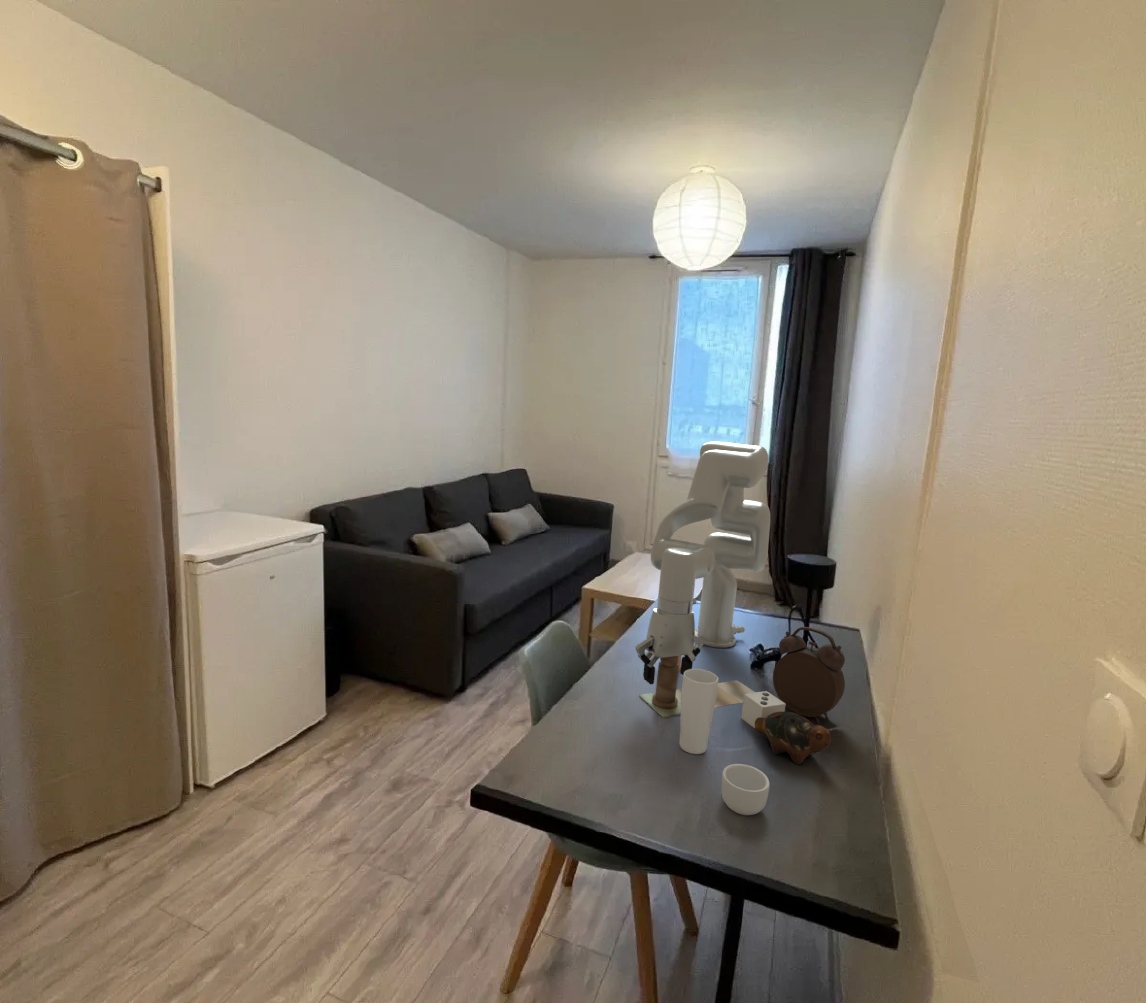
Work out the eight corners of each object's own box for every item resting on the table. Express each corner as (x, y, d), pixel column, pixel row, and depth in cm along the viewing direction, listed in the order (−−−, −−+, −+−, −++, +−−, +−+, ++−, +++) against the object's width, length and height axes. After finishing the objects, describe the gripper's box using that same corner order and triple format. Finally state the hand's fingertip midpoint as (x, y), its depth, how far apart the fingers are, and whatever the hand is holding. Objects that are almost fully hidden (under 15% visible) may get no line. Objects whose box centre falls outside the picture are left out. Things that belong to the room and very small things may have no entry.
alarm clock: (842, 722, 137) (855, 635, 134) (830, 733, 132) (843, 643, 129) (779, 697, 147) (790, 616, 144) (765, 707, 141) (776, 622, 138)
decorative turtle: (821, 779, 114) (823, 738, 113) (743, 750, 124) (744, 713, 123) (838, 756, 122) (840, 718, 120) (764, 731, 131) (765, 695, 130)
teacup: (766, 827, 100) (770, 796, 99) (717, 815, 102) (721, 785, 101) (764, 791, 109) (768, 763, 108) (720, 781, 111) (723, 753, 110)
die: (763, 716, 137) (766, 690, 136) (782, 730, 131) (785, 703, 130) (741, 720, 134) (744, 693, 133) (759, 734, 129) (762, 706, 128)
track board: (736, 681, 153) (737, 680, 153) (764, 700, 145) (765, 698, 144) (639, 696, 142) (639, 694, 141) (663, 717, 133) (663, 716, 133)
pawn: (668, 695, 142) (673, 643, 140) (682, 707, 137) (688, 653, 135) (647, 698, 140) (652, 646, 138) (660, 710, 135) (666, 656, 133)
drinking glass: (689, 760, 117) (698, 685, 115) (668, 742, 123) (676, 670, 121) (717, 753, 120) (726, 680, 118) (695, 736, 126) (703, 666, 124)
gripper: (697, 596, 142) (689, 667, 145) (631, 602, 135) (624, 676, 137) (717, 607, 135) (709, 681, 138) (650, 613, 128) (642, 691, 131)
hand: (667, 678), depth 138 cm, fingers open, 9 cm apart
